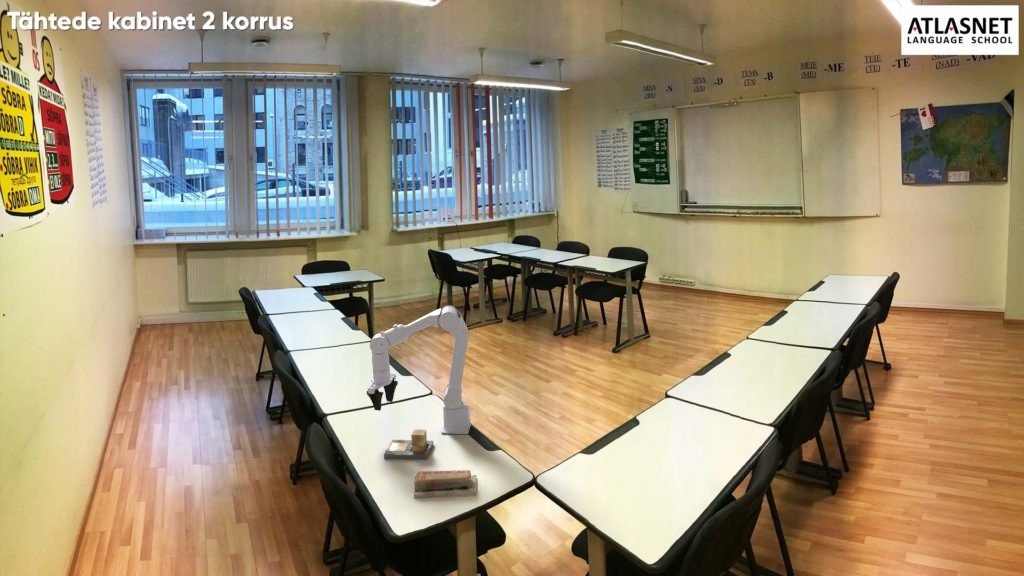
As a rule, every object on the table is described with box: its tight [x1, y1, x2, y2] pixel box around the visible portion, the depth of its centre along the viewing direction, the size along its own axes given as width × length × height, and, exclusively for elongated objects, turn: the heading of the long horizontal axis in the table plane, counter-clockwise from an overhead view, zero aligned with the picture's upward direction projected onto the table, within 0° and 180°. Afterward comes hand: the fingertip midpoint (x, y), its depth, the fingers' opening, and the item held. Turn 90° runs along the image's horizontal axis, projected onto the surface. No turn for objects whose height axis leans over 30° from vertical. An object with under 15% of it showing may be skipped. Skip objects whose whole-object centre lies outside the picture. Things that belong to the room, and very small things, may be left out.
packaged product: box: [412, 469, 478, 499], centre depth 173 cm, size 18×5×10 cm
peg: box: [410, 428, 428, 452], centre depth 194 cm, size 4×4×7 cm
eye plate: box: [383, 439, 434, 461], centre depth 195 cm, size 14×10×2 cm
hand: (383, 405), depth 207 cm, fingers open, 7 cm apart
